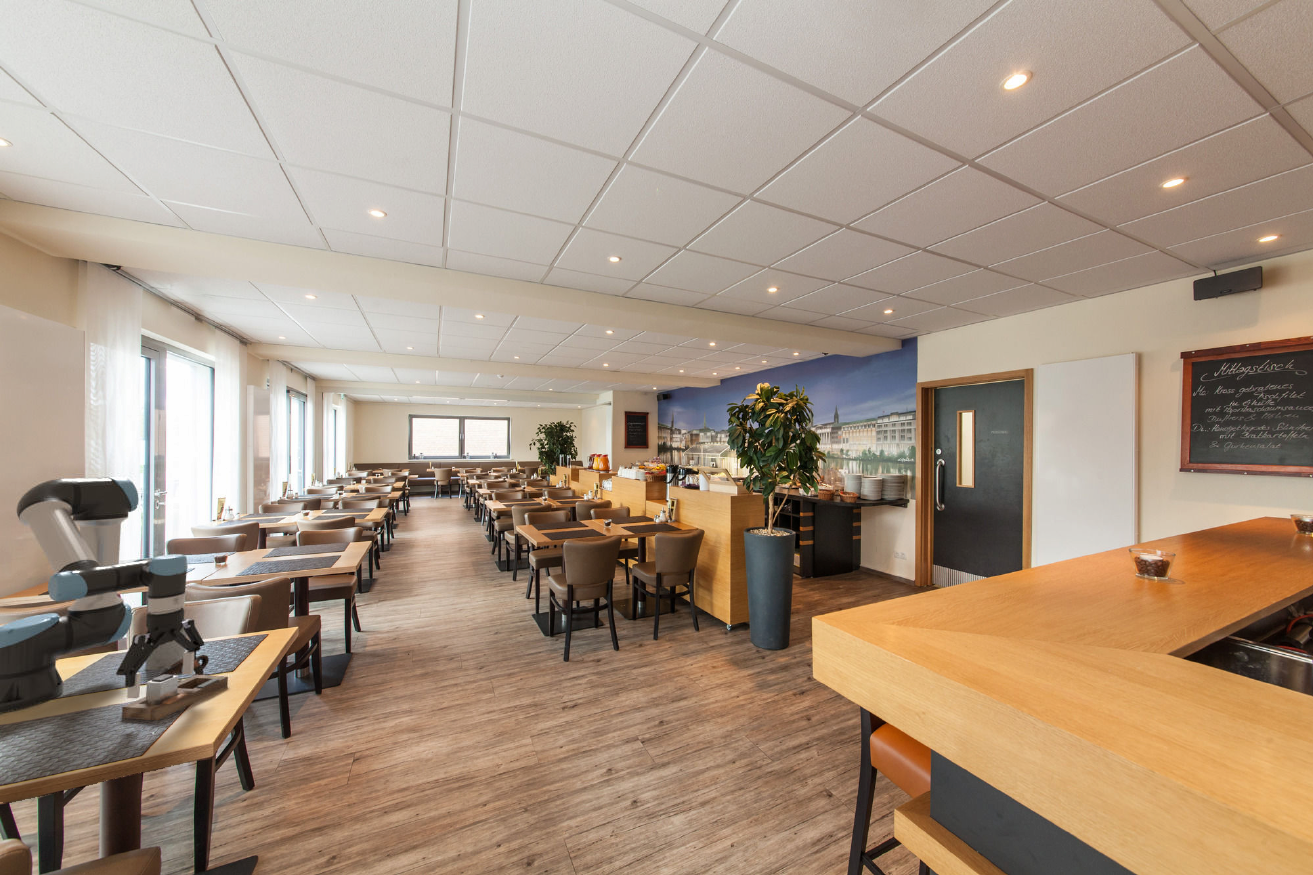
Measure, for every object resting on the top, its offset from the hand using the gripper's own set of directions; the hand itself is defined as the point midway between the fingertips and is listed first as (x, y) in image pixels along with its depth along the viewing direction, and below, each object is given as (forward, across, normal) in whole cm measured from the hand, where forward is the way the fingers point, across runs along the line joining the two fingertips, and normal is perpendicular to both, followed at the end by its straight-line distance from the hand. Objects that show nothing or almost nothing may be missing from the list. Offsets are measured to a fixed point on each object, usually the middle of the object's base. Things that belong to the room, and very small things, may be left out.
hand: (161, 685), depth 133 cm
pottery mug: (+7, +16, +12) cm, 21 cm away
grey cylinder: (+7, +26, +30) cm, 40 cm away
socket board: (+7, +4, 0) cm, 8 cm away
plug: (+7, 0, 0) cm, 7 cm away
